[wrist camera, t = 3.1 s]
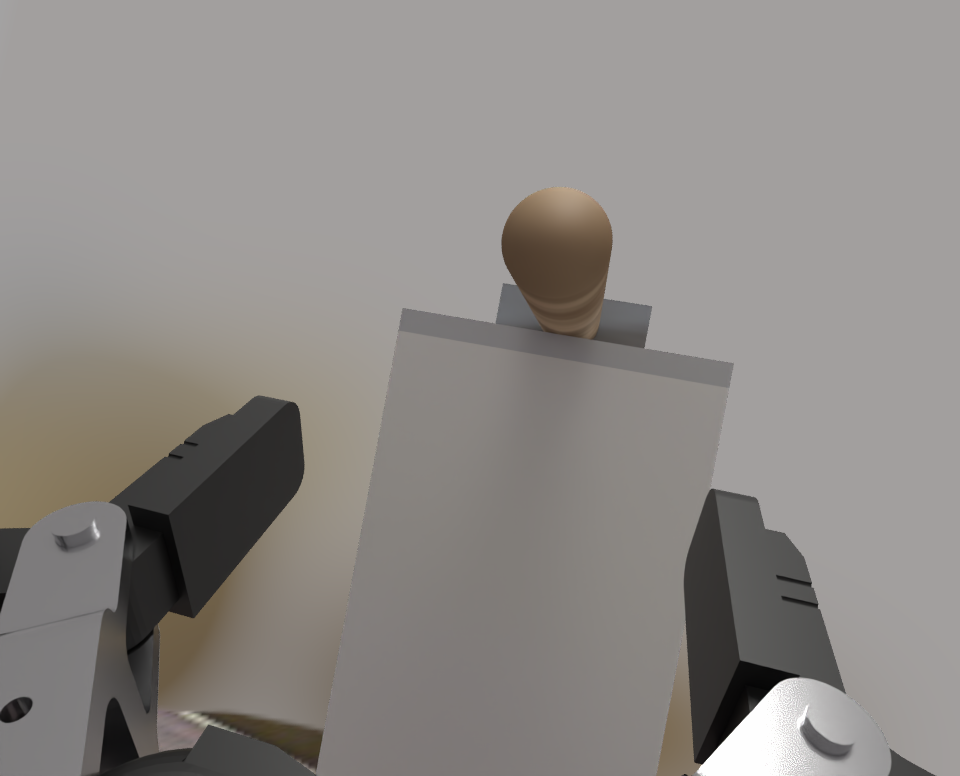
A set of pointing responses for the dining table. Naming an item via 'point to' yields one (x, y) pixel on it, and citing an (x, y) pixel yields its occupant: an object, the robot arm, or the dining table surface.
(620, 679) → the stand
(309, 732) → the dining table surface
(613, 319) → the mallet
